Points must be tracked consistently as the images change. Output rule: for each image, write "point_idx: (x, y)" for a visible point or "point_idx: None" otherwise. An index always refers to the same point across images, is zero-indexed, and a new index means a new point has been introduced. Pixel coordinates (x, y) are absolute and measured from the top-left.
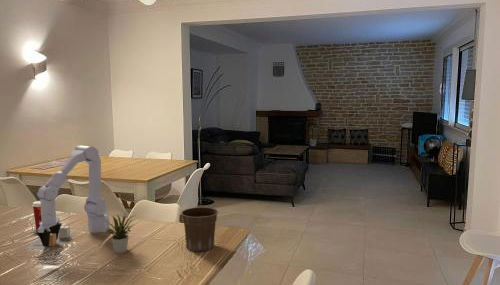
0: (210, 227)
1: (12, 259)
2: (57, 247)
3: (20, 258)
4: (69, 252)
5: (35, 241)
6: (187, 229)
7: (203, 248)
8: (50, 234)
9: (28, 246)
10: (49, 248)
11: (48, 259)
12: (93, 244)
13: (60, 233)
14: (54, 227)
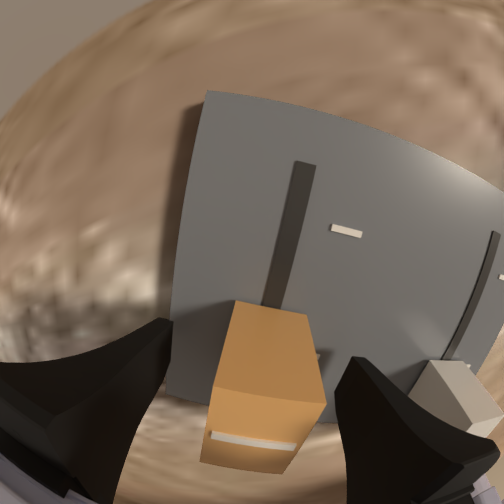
0: None
1: (64, 97)
2: (193, 399)
3: (66, 147)
4: (156, 432)
5: (430, 155)
6: None
7: None
8: (251, 446)
9: (281, 112)
10: (175, 351)
11: (57, 344)
12: (262, 490)
13: (439, 399)
14: (377, 498)
